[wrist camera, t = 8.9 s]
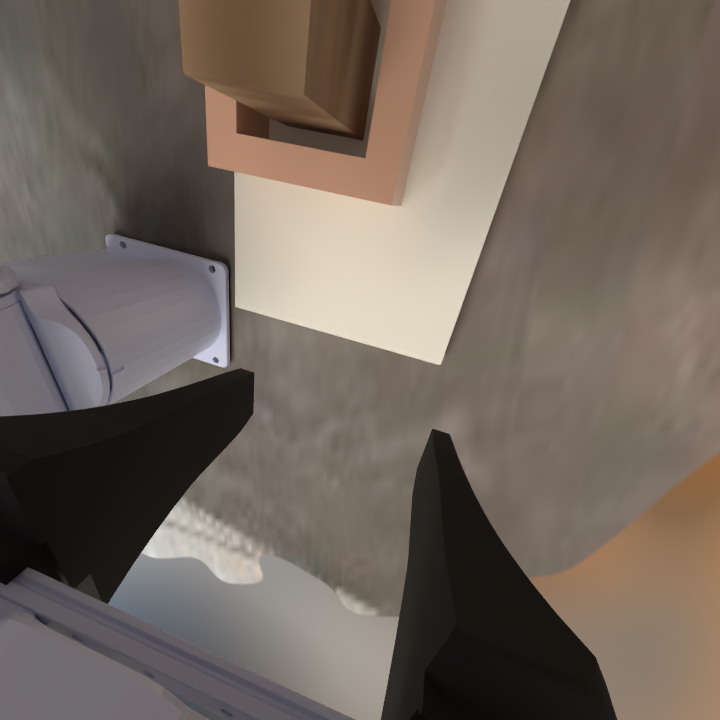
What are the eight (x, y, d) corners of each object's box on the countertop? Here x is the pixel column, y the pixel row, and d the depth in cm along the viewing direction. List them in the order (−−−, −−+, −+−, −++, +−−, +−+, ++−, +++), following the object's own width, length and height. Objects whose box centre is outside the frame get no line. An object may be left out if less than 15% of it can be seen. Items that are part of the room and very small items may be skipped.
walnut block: (287, 125, 16) (182, 73, 10) (293, 15, 14) (169, -137, 8) (363, 140, 15) (303, 94, 9) (381, 27, 13) (320, -128, 7)
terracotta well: (242, 171, 17) (208, 166, 15) (243, -78, 13) (195, -145, 10) (401, 206, 16) (392, 205, 13) (460, -59, 12) (462, -129, 9)
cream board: (243, 302, 22) (235, 306, 21) (246, -61, 14) (232, -79, 13) (440, 358, 20) (440, 365, 19) (577, -29, 12) (587, -47, 11)
